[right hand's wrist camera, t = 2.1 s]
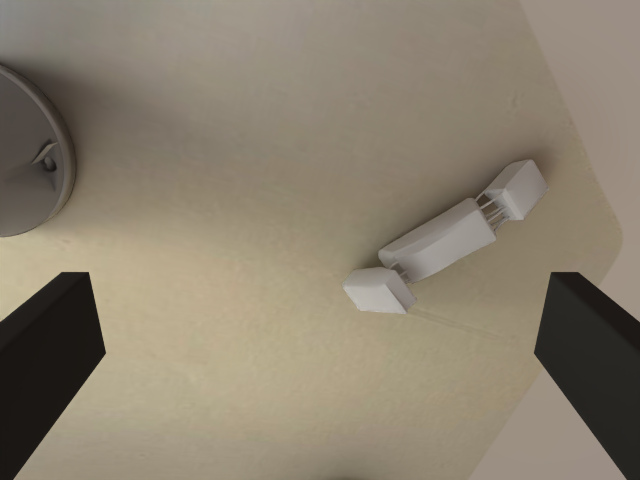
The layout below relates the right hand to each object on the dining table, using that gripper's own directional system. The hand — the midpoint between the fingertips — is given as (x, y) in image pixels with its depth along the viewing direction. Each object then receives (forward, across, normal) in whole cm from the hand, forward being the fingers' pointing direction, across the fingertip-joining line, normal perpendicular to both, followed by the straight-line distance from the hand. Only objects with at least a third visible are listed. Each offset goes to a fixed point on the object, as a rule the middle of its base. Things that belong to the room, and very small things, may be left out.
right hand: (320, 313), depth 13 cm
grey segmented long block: (+29, +11, -8) cm, 32 cm away
